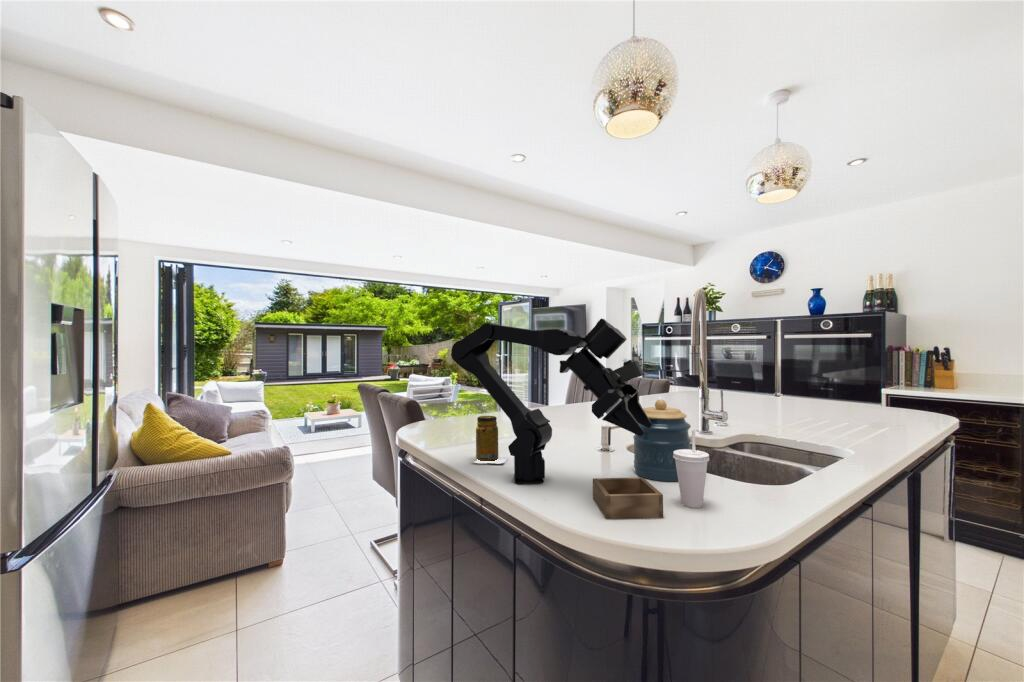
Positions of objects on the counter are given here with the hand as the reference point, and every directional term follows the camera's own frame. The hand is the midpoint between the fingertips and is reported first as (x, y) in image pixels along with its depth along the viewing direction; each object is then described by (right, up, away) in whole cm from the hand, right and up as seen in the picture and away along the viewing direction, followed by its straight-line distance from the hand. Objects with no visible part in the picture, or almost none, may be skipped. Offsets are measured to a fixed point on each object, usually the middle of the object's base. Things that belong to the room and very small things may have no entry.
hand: (646, 430), depth 82 cm
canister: (+9, -14, +15) cm, 23 cm away
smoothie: (+7, -13, -4) cm, 16 cm away
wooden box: (-6, -13, -6) cm, 15 cm away
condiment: (-33, -15, +29) cm, 46 cm away
